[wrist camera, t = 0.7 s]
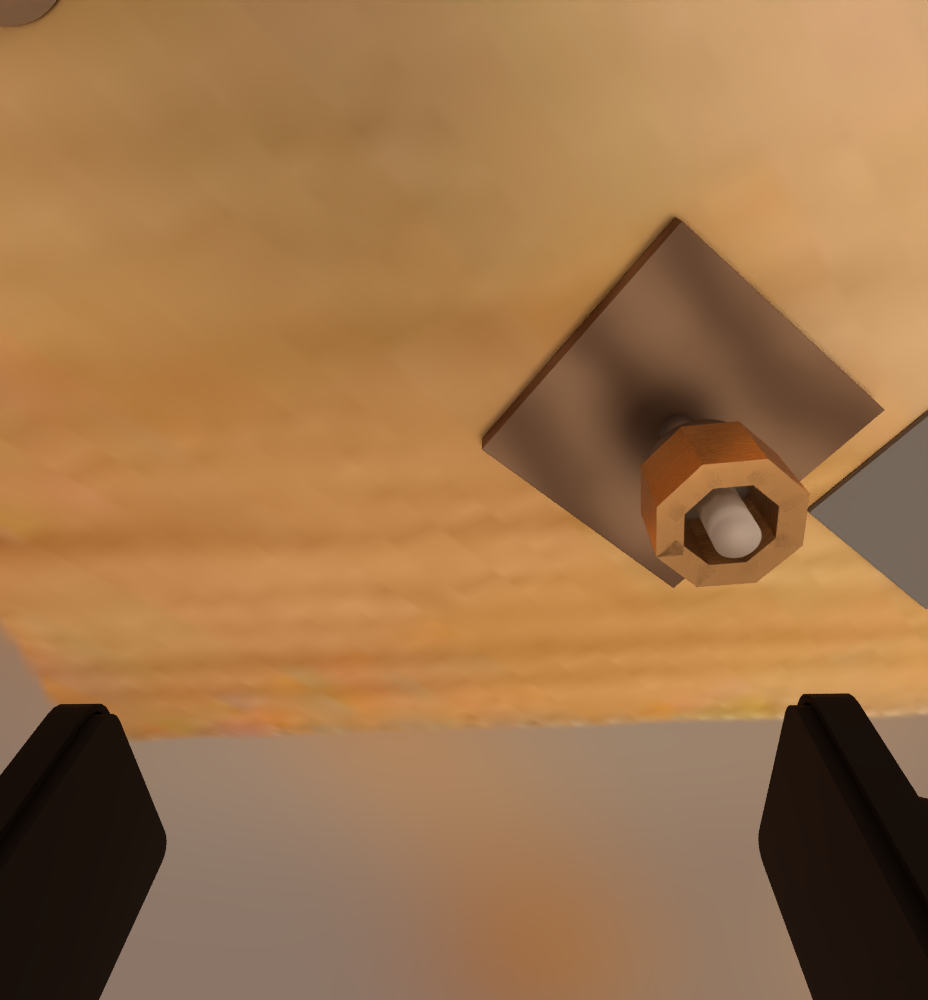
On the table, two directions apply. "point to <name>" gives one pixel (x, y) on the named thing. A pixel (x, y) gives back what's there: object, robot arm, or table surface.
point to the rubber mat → (887, 510)
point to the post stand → (674, 396)
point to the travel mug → (22, 11)
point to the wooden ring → (709, 465)
